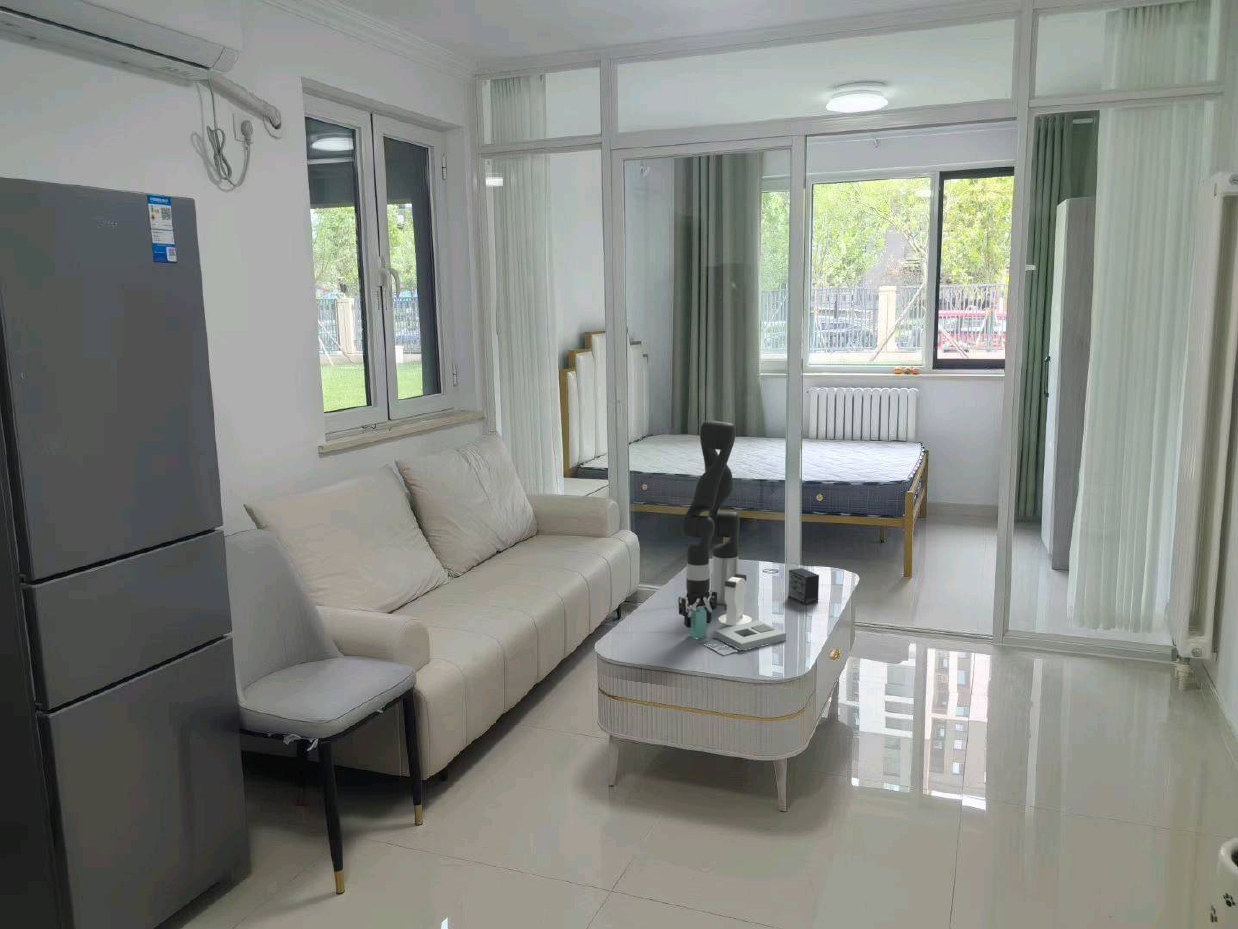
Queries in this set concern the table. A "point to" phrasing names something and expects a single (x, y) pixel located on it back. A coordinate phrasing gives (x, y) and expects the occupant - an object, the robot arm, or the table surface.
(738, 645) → the plate
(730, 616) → the white curved stand
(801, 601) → the small box
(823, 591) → the table surface
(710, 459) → the robot arm
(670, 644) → the table surface
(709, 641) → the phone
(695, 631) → the teal knobbed block
